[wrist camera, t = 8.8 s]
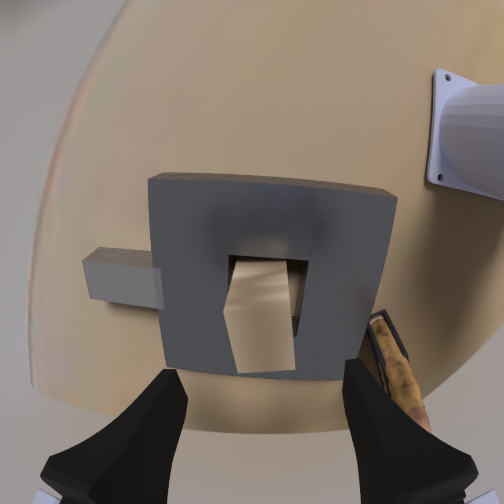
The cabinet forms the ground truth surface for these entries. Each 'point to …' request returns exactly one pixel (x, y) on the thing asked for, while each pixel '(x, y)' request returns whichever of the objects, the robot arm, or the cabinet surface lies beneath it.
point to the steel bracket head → (259, 245)
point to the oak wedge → (260, 315)
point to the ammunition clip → (396, 368)
